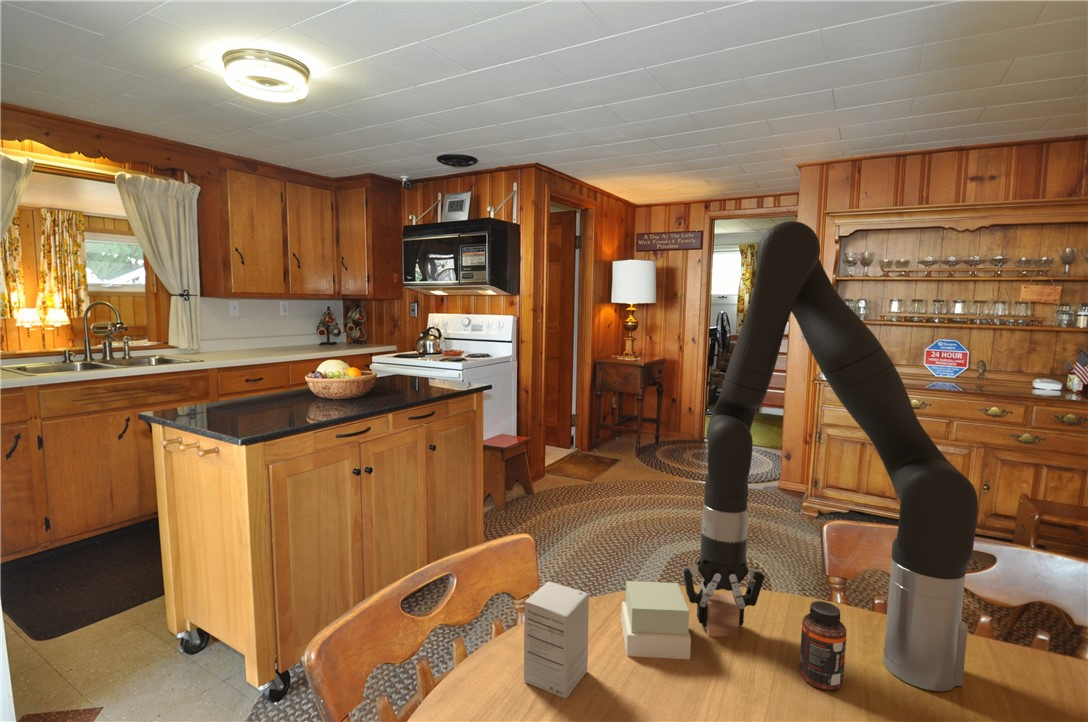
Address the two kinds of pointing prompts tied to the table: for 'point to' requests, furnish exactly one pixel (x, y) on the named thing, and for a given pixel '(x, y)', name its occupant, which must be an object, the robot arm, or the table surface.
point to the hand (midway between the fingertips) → (719, 624)
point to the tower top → (656, 608)
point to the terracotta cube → (722, 616)
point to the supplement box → (556, 638)
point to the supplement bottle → (823, 646)
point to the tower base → (654, 642)
